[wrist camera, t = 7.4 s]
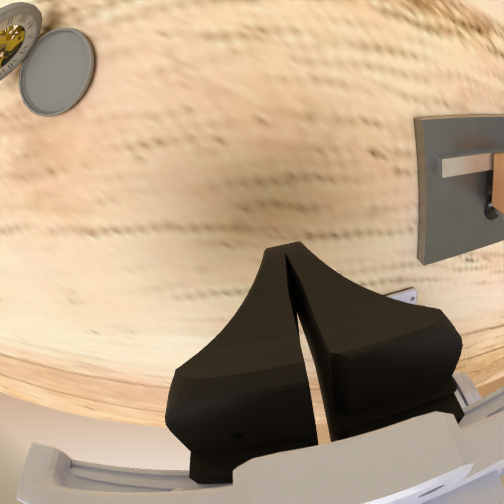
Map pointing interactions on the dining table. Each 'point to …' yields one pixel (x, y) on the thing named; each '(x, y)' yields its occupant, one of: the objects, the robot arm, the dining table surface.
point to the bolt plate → (457, 184)
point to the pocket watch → (44, 60)
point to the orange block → (498, 185)
